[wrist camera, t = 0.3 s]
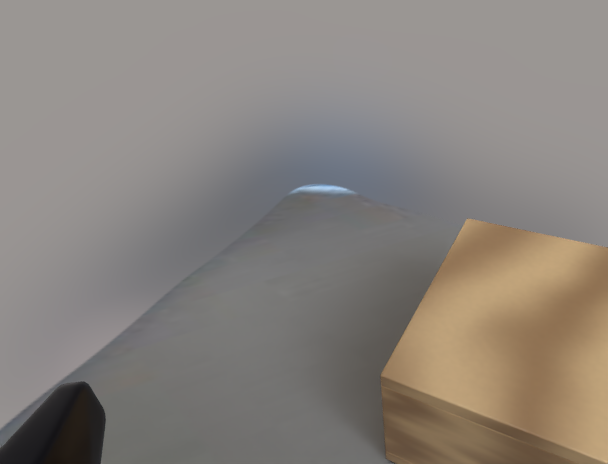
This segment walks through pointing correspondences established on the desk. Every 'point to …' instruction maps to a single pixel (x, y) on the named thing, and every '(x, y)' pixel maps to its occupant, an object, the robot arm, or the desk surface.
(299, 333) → the desk surface
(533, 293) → the box
